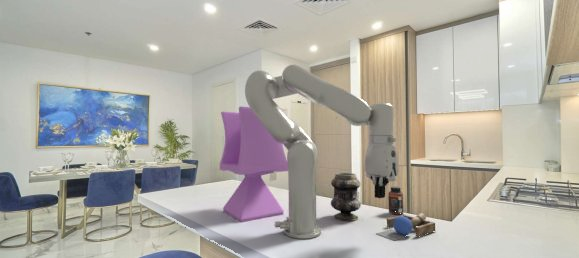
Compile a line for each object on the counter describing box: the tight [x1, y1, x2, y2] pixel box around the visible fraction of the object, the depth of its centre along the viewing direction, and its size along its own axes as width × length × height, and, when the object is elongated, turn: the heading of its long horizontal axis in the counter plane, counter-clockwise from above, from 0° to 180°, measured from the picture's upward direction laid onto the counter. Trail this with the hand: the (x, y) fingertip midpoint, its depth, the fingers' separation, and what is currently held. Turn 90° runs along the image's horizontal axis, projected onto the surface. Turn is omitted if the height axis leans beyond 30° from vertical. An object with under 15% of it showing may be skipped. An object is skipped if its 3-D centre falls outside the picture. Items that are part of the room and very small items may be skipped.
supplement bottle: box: [387, 186, 404, 216], centre depth 112 cm, size 6×6×11 cm
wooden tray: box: [386, 214, 436, 238], centre depth 91 cm, size 10×12×3 cm
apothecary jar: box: [330, 172, 362, 222], centre depth 106 cm, size 12×12×18 cm
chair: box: [219, 106, 288, 223], centre depth 114 cm, size 22×22×45 cm
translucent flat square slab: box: [375, 228, 406, 241], centre depth 86 cm, size 8×7×1 cm
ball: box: [392, 215, 414, 235], centre depth 86 cm, size 6×6×6 cm
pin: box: [410, 212, 427, 229], centre depth 90 cm, size 2×2×8 cm
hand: (379, 197), depth 84 cm, fingers closed
